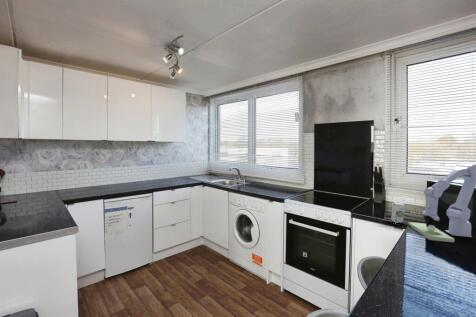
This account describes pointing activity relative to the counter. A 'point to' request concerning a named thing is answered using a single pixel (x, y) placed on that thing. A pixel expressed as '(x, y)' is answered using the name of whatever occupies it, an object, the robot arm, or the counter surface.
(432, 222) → the robot arm
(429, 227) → the golf ball
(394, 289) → the counter surface
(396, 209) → the syrup box
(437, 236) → the mat
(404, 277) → the counter surface
